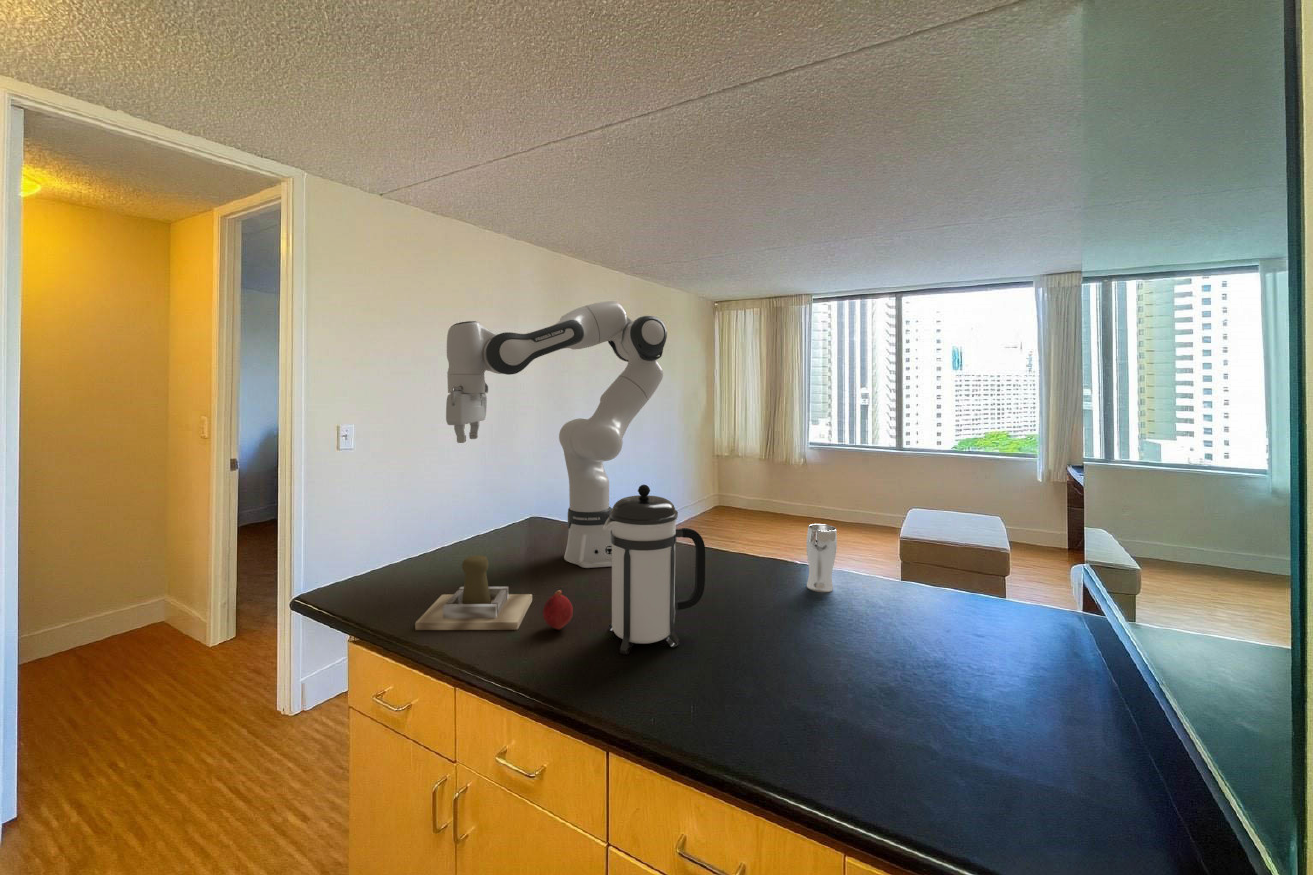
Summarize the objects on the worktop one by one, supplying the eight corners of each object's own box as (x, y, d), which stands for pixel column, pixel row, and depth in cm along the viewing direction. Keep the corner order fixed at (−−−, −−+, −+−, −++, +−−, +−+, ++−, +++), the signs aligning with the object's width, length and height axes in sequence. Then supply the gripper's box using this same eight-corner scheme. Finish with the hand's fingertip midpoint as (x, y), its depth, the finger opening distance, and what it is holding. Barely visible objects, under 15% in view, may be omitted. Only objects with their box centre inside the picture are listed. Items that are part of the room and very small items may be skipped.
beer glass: (803, 590, 124) (805, 529, 123) (806, 580, 131) (808, 522, 129) (833, 595, 122) (836, 532, 120) (835, 584, 128) (838, 525, 127)
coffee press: (660, 668, 89) (662, 497, 86) (588, 643, 98) (587, 486, 95) (705, 629, 104) (708, 481, 101) (639, 610, 112) (640, 473, 109)
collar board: (532, 600, 117) (531, 583, 117) (517, 629, 103) (517, 610, 103) (442, 600, 116) (441, 583, 116) (415, 630, 102) (414, 610, 102)
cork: (496, 602, 112) (495, 552, 111) (483, 614, 106) (482, 562, 105) (469, 600, 113) (468, 551, 112) (455, 612, 107) (454, 560, 106)
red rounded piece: (547, 638, 99) (547, 598, 99) (539, 626, 104) (539, 588, 104) (576, 632, 102) (576, 593, 101) (567, 620, 107) (567, 583, 106)
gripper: (465, 386, 121) (466, 445, 122) (490, 386, 141) (491, 436, 143) (437, 386, 121) (439, 445, 122) (466, 386, 141) (468, 436, 143)
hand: (467, 440), depth 133 cm, fingers open, 8 cm apart
